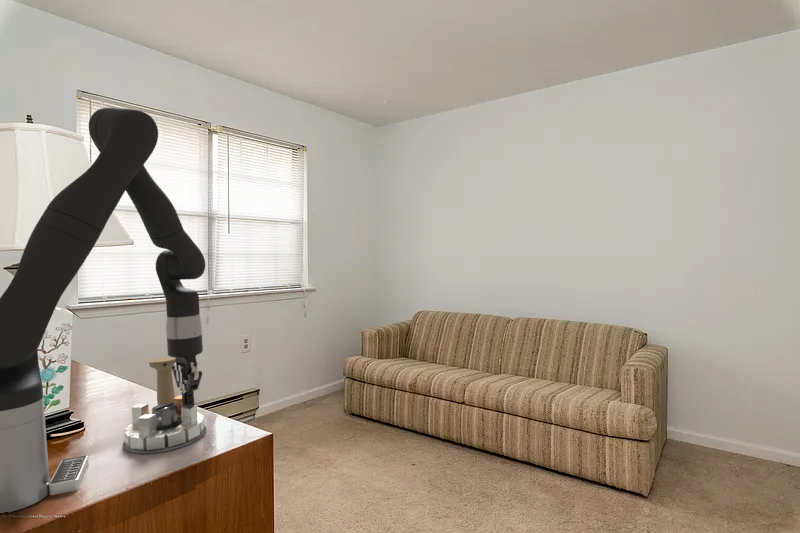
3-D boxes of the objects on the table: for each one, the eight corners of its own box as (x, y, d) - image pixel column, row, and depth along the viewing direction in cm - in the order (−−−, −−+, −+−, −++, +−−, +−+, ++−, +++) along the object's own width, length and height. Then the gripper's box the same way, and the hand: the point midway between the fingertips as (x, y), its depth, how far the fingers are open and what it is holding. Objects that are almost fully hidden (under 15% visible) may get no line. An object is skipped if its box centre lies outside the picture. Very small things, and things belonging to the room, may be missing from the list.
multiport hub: (48, 497, 83) (47, 485, 83) (62, 470, 93) (61, 459, 93) (78, 491, 85) (77, 479, 85) (89, 465, 95) (88, 454, 95)
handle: (152, 417, 120) (148, 359, 119) (179, 412, 123) (176, 355, 122) (153, 423, 116) (149, 363, 115) (182, 418, 119) (178, 359, 118)
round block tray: (218, 424, 112) (216, 397, 112) (166, 453, 97) (165, 422, 97) (165, 418, 117) (163, 392, 117) (108, 445, 102) (106, 415, 102)
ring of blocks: (152, 460, 96) (150, 425, 95) (106, 444, 104) (104, 411, 104) (222, 430, 110) (220, 399, 110) (176, 418, 119) (175, 389, 118)
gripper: (212, 335, 109) (215, 409, 109) (190, 329, 118) (193, 397, 119) (178, 340, 103) (182, 418, 104) (157, 333, 113) (161, 405, 114)
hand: (188, 406), depth 112 cm, fingers closed
